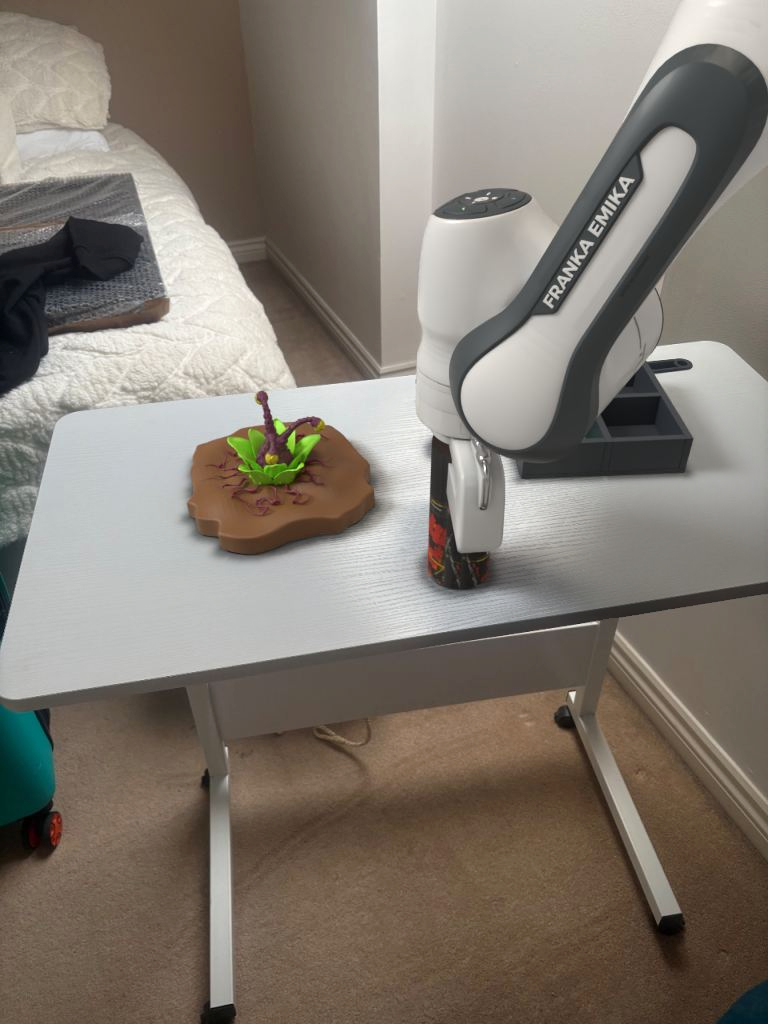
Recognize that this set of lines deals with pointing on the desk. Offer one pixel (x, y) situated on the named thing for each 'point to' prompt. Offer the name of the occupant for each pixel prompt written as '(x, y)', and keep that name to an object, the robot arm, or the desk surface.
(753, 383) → the desk surface
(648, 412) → the compartment tray
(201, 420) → the desk surface
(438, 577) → the deodorant
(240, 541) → the plant
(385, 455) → the desk surface
